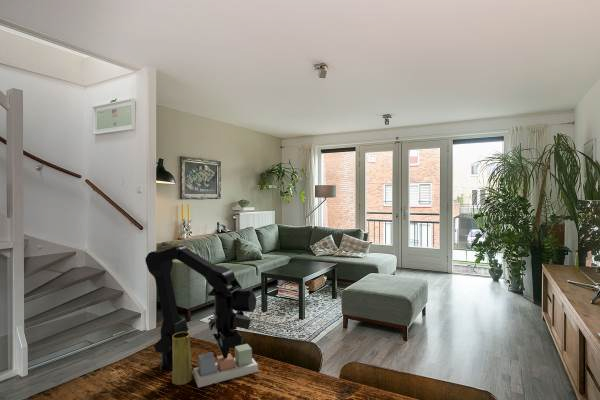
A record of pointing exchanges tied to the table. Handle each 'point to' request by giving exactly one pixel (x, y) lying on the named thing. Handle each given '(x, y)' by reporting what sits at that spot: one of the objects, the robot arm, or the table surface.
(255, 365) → the button board
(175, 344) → the vase
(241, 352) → the sage button
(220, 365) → the salmon block
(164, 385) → the table surface
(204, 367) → the pale blue block
